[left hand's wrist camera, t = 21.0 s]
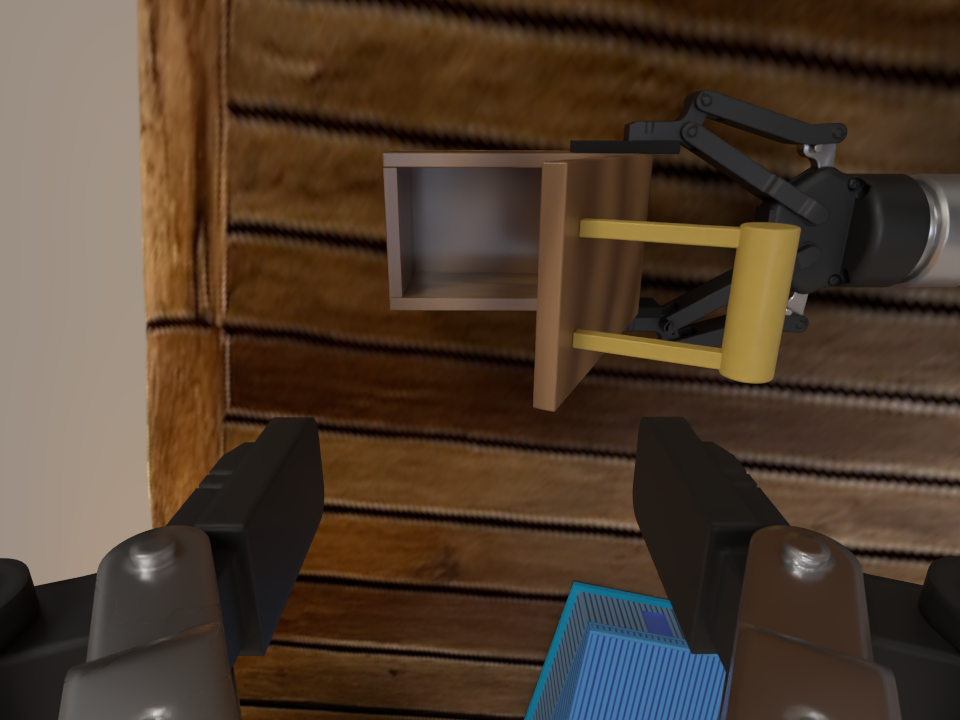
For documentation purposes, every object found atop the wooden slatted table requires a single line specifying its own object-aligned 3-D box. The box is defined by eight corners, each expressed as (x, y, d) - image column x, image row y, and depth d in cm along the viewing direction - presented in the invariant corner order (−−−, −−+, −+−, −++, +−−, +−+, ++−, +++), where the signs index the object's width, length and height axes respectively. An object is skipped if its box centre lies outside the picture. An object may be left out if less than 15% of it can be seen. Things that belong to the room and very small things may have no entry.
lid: (532, 408, 26) (762, 453, 22) (541, 161, 22) (816, 166, 19) (622, 312, 40) (771, 330, 36) (636, 153, 37) (802, 155, 33)
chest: (405, 280, 49) (389, 310, 40) (400, 149, 45) (381, 152, 37) (602, 281, 49) (628, 311, 40) (612, 150, 45) (643, 153, 37)
